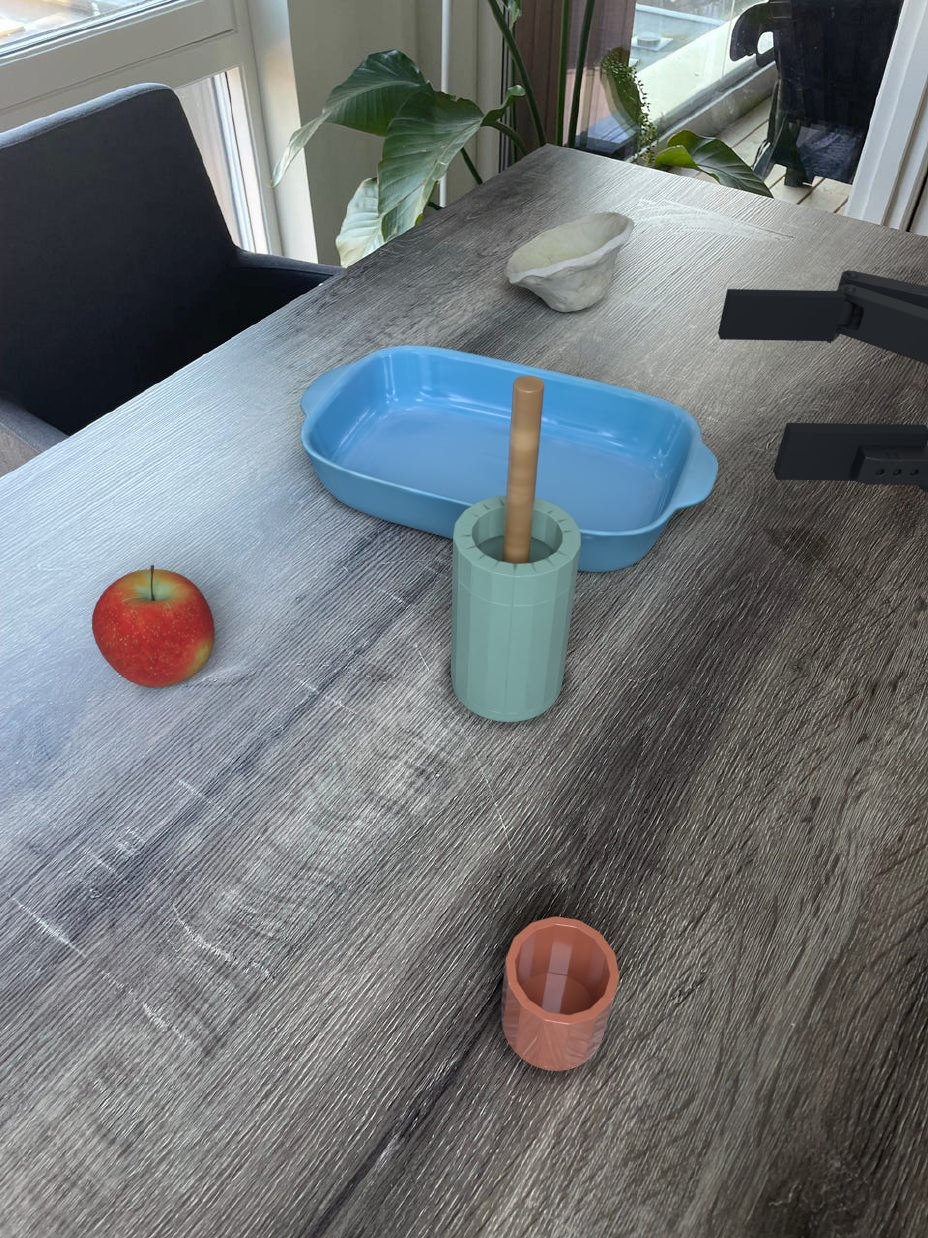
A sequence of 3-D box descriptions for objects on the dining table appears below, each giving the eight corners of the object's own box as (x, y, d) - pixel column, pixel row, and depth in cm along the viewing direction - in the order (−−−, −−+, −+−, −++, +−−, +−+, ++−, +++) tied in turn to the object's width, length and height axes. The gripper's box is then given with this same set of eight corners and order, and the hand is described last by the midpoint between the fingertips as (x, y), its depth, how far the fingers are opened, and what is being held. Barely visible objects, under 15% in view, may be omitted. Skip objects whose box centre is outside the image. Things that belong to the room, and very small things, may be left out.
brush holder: (572, 1094, 53) (584, 1047, 49) (480, 1030, 55) (483, 980, 51) (624, 1006, 56) (639, 956, 52) (535, 950, 59) (542, 897, 55)
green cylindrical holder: (524, 740, 70) (538, 594, 60) (428, 689, 73) (427, 542, 64) (582, 670, 75) (604, 525, 65) (490, 625, 78) (498, 480, 68)
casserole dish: (723, 469, 94) (739, 403, 89) (674, 624, 79) (690, 555, 74) (365, 389, 103) (362, 325, 98) (259, 515, 87) (248, 447, 82)
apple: (101, 650, 75) (67, 549, 68) (207, 621, 78) (185, 520, 71) (121, 726, 70) (87, 625, 63) (234, 692, 73) (213, 591, 66)
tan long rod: (515, 695, 72) (539, 407, 55) (473, 674, 73) (485, 386, 56) (541, 666, 74) (572, 379, 57) (500, 645, 75) (519, 360, 59)
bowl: (524, 266, 124) (529, 183, 117) (635, 285, 121) (647, 202, 114) (485, 320, 114) (488, 233, 107) (605, 343, 110) (616, 255, 103)
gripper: (1249, 596, 46) (791, 592, 45) (1023, 332, 64) (694, 327, 63) (1353, 461, 41) (837, 454, 40) (1076, 215, 59) (717, 208, 58)
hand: (748, 376), depth 52 cm, fingers open, 13 cm apart
